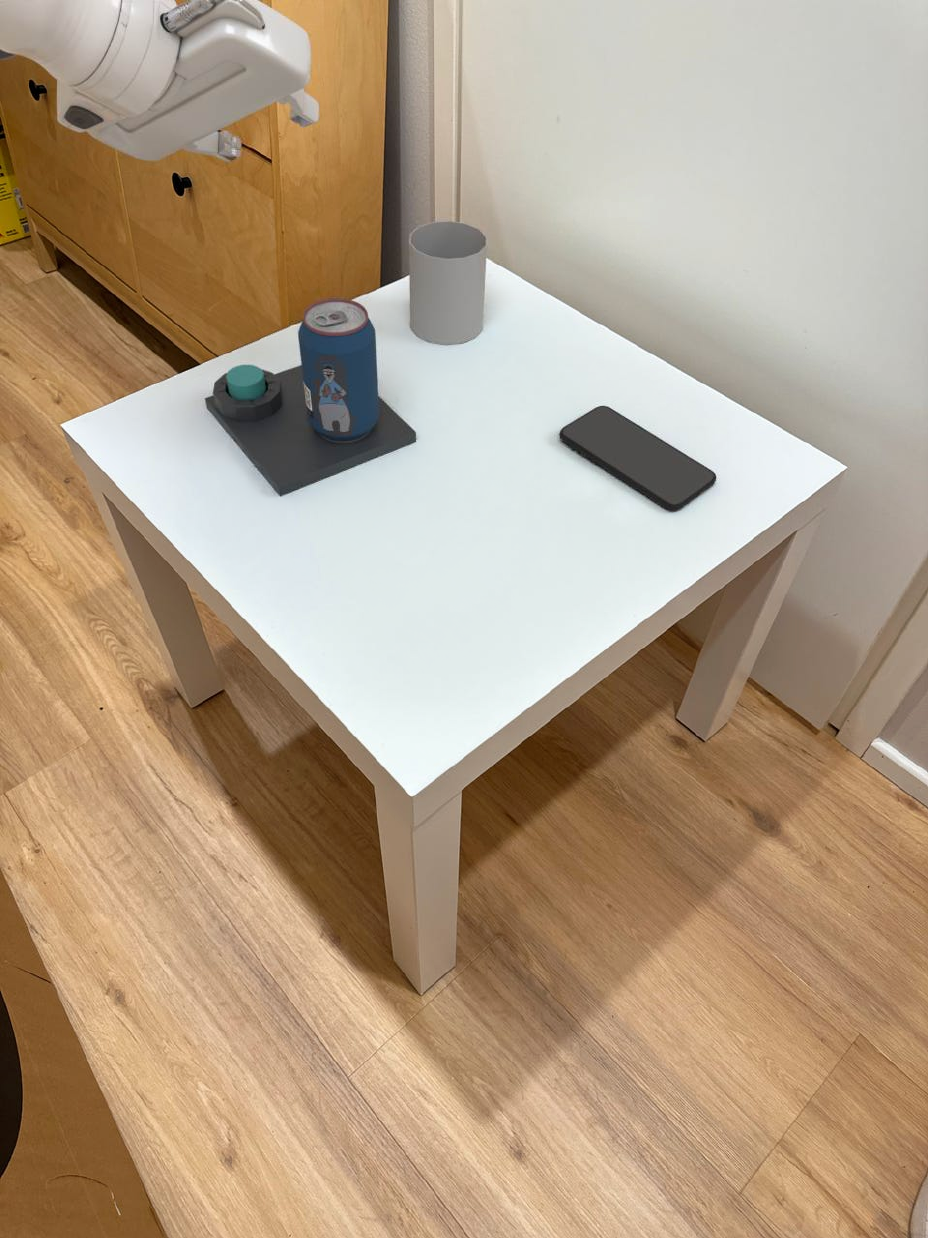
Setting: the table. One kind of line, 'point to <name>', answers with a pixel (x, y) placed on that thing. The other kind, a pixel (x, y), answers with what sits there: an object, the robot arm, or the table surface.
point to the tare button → (246, 382)
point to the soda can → (339, 369)
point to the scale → (297, 433)
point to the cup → (447, 281)
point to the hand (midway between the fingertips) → (273, 134)
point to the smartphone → (638, 457)
